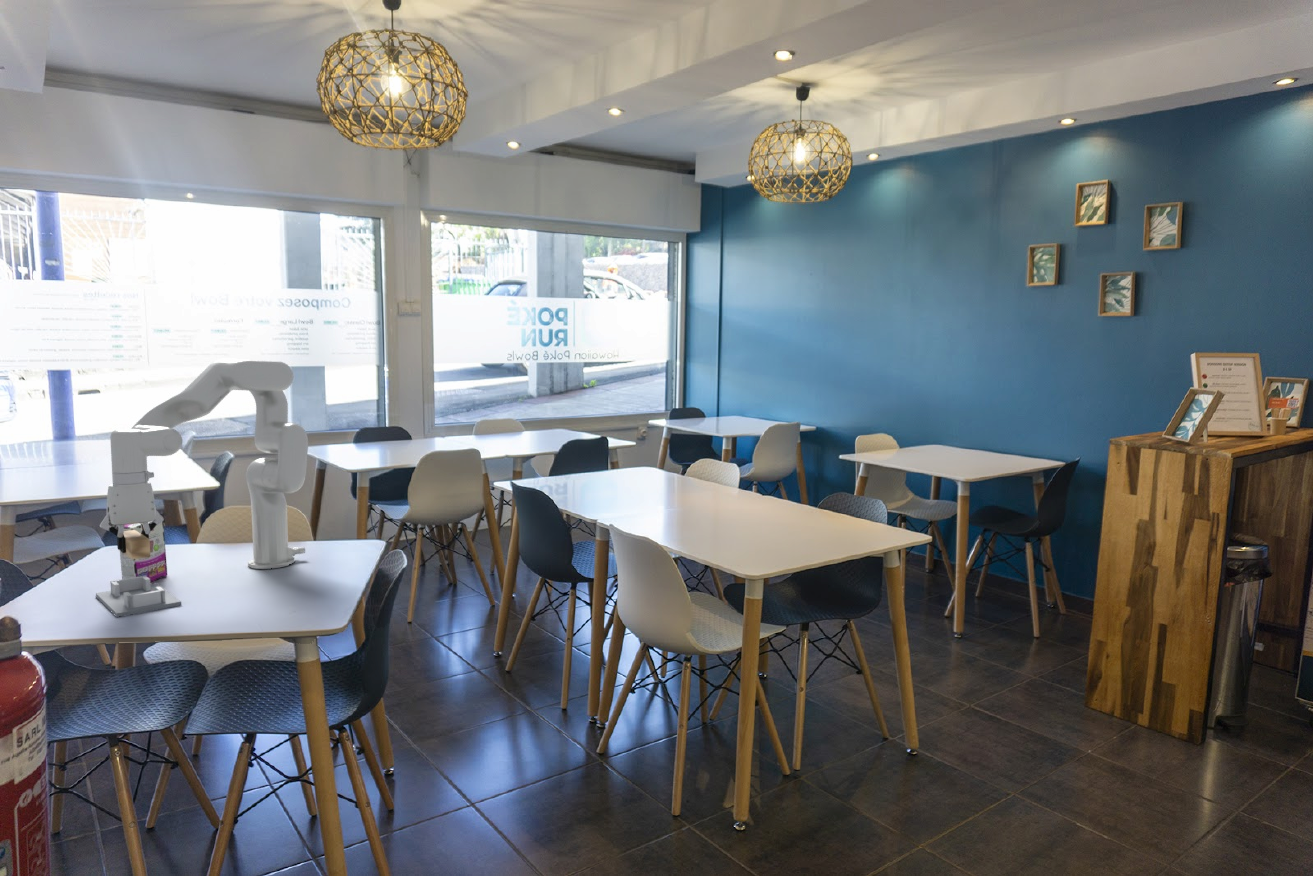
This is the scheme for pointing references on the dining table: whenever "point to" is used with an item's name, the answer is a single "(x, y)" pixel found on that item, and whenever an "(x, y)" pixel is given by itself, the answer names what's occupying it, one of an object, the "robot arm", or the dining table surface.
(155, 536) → the candy bar box
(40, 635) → the dining table surface
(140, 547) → the oak block
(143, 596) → the board
